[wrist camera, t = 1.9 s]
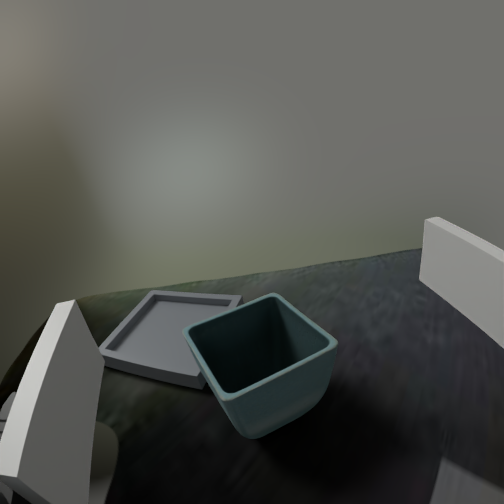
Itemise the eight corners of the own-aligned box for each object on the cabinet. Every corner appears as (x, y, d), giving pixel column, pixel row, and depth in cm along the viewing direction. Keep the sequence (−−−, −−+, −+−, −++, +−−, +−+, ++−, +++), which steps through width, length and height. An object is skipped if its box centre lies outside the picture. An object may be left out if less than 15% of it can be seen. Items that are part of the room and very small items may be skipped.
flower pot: (283, 361, 32) (274, 289, 28) (337, 415, 24) (341, 341, 20) (205, 397, 28) (179, 327, 24) (247, 465, 21) (223, 403, 17)
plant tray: (244, 308, 41) (242, 295, 40) (202, 389, 29) (197, 376, 28) (155, 301, 46) (151, 289, 45) (101, 364, 34) (94, 352, 33)
